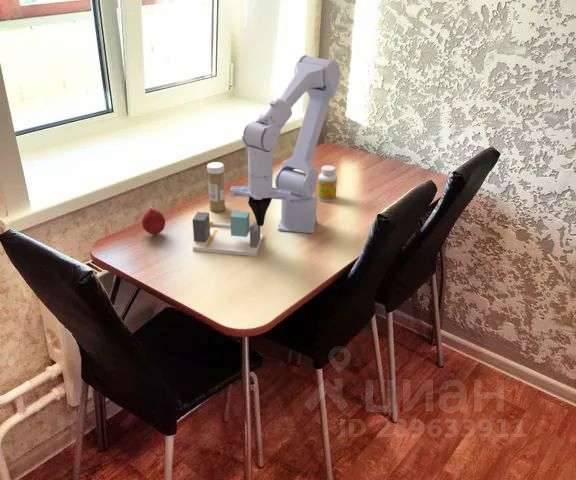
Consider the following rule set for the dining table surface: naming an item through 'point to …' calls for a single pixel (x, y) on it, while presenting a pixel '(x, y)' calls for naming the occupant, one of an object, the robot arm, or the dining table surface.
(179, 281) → the dining table surface
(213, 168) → the sprinkles bottle
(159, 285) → the dining table surface
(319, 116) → the robot arm
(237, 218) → the sleeve
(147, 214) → the onion
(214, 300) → the dining table surface
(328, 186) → the supplement bottle
